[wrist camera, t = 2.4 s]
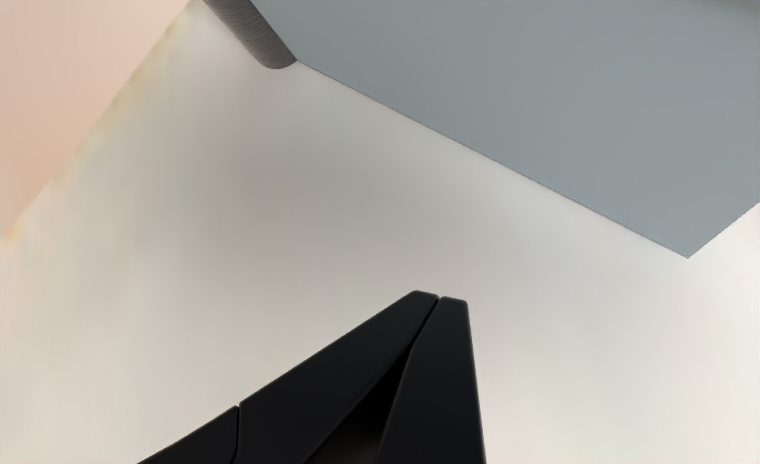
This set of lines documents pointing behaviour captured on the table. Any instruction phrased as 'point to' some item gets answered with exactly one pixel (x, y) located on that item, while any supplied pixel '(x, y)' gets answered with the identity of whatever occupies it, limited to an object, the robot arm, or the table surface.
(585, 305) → the table surface
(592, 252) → the table surface
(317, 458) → the robot arm
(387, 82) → the panel
